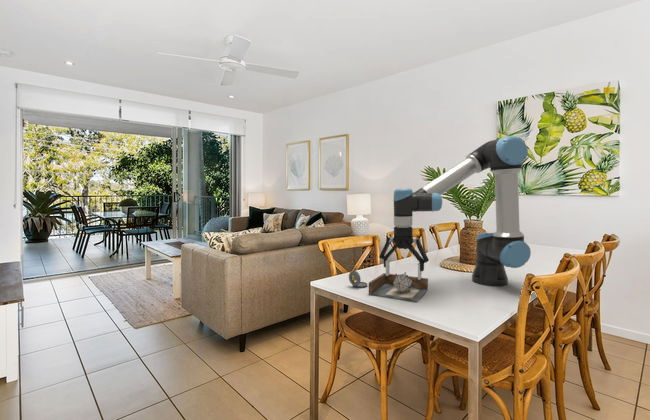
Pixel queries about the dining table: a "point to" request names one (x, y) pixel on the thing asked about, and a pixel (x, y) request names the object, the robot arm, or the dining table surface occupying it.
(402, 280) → the game die
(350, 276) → the pocket watch
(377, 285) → the tray
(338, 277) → the dining table surface
